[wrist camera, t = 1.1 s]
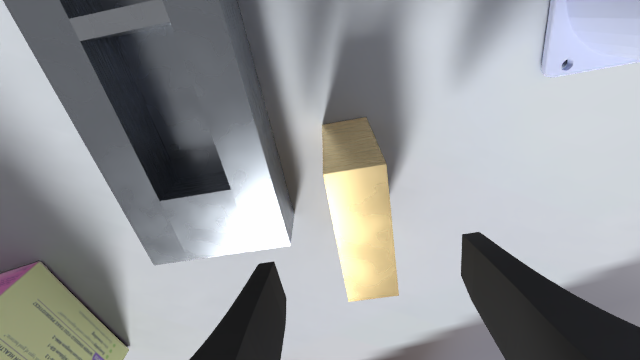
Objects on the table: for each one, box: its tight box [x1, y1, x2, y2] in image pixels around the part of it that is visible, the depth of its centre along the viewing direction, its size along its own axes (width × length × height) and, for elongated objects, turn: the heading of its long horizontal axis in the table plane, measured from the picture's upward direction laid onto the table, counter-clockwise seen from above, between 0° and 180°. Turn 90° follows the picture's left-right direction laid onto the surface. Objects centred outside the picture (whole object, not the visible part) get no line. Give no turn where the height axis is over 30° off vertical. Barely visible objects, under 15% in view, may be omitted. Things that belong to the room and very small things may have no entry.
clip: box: [322, 117, 399, 302], centre depth 16 cm, size 2×7×6 cm, turn 10°
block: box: [3, 0, 294, 265], centre depth 14 cm, size 8×24×3 cm, turn 10°
